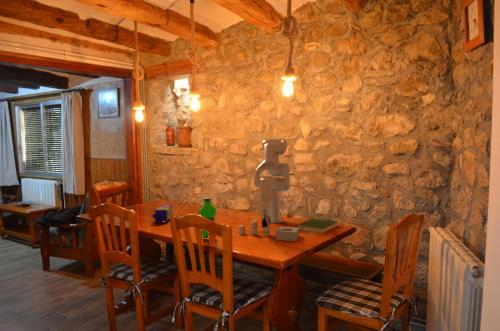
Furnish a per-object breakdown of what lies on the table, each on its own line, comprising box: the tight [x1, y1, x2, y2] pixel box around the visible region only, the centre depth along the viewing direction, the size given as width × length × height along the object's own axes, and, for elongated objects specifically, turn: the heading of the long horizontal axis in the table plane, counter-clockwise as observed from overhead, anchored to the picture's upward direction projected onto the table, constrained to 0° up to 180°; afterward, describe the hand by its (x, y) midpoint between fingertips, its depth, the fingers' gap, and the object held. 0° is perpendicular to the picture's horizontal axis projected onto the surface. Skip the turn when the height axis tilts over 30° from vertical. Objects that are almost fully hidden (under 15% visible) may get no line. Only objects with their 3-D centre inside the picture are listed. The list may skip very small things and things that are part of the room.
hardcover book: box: [296, 217, 339, 234], centre depth 250 cm, size 25×19×4 cm
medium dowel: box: [250, 220, 258, 236], centre depth 235 cm, size 4×4×8 cm
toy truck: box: [152, 204, 174, 224], centre depth 278 cm, size 10×25×10 cm, turn 179°
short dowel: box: [238, 224, 246, 236], centre depth 237 cm, size 4×4×5 cm
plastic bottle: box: [198, 197, 217, 239], centre depth 224 cm, size 10×10×25 cm
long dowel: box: [262, 216, 271, 237], centre depth 232 cm, size 4×4×14 cm
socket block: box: [275, 226, 300, 242], centre depth 226 cm, size 12×12×5 cm
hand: (266, 225), depth 232 cm, fingers open, 8 cm apart
